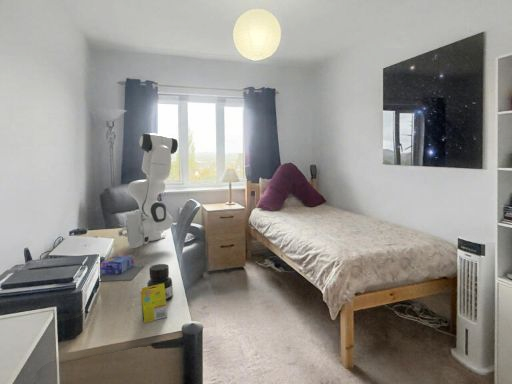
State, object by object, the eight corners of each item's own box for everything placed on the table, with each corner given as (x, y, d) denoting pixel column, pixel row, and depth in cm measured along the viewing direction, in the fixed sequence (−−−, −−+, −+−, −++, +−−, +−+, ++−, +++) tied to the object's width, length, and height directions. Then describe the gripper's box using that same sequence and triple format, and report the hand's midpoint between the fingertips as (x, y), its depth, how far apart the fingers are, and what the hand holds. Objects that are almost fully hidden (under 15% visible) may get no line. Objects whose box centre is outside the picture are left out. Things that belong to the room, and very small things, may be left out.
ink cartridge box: (134, 254, 151) (115, 265, 137) (135, 265, 152) (116, 277, 138) (115, 253, 153) (95, 264, 139) (116, 264, 154) (96, 276, 140)
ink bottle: (148, 305, 111) (146, 273, 110) (146, 296, 119) (144, 265, 118) (176, 300, 115) (174, 268, 114) (172, 291, 123) (170, 261, 122)
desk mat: (114, 267, 151) (114, 266, 151) (143, 266, 152) (143, 265, 152) (97, 281, 134) (97, 280, 134) (131, 280, 135) (130, 279, 135)
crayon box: (165, 313, 105) (163, 280, 104) (167, 317, 103) (165, 283, 101) (142, 319, 102) (139, 285, 100) (143, 323, 99) (141, 288, 98)
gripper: (144, 211, 171) (118, 216, 163) (147, 245, 177) (122, 252, 168) (140, 208, 176) (114, 213, 168) (143, 242, 181) (118, 248, 173)
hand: (118, 233), depth 168 cm, fingers closed
